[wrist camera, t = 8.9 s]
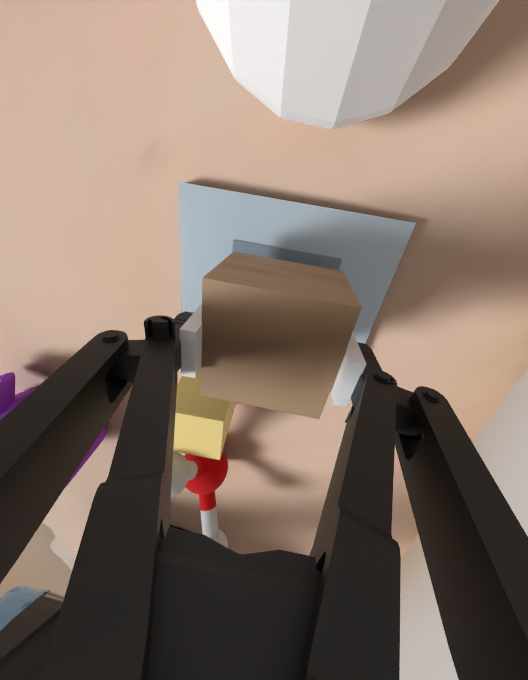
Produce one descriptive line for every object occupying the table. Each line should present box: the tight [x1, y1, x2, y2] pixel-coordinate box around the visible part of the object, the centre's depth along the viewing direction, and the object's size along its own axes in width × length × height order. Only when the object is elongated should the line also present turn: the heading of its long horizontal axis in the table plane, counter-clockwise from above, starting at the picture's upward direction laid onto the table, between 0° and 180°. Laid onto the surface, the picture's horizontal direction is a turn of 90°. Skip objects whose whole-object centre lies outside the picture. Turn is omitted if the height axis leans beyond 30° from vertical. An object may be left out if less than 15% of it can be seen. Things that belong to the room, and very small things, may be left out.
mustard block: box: [173, 369, 236, 460], centre depth 24 cm, size 5×5×7 cm
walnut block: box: [200, 251, 362, 419], centre depth 15 cm, size 7×7×6 cm
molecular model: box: [171, 451, 228, 548], centre depth 28 cm, size 18×6×10 cm, turn 10°
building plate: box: [179, 182, 416, 343], centre depth 20 cm, size 14×16×1 cm
